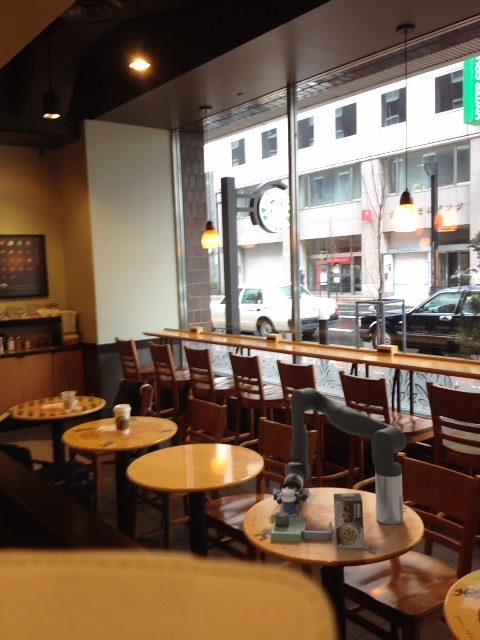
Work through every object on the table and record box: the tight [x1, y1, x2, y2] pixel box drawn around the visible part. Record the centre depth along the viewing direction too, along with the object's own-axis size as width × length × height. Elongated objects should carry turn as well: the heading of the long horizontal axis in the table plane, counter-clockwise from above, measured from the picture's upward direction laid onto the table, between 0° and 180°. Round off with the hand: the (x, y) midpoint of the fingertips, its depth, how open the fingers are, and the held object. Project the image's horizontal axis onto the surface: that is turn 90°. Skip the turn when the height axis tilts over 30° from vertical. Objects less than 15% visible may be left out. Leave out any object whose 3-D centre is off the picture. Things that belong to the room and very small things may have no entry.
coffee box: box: [333, 492, 365, 549], centre depth 191 cm, size 9×6×16 cm
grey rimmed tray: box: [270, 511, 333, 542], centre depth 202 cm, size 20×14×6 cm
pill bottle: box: [280, 489, 298, 517], centre depth 214 cm, size 6×6×10 cm
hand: (288, 502), depth 212 cm, fingers closed on pill bottle, 5 cm apart
